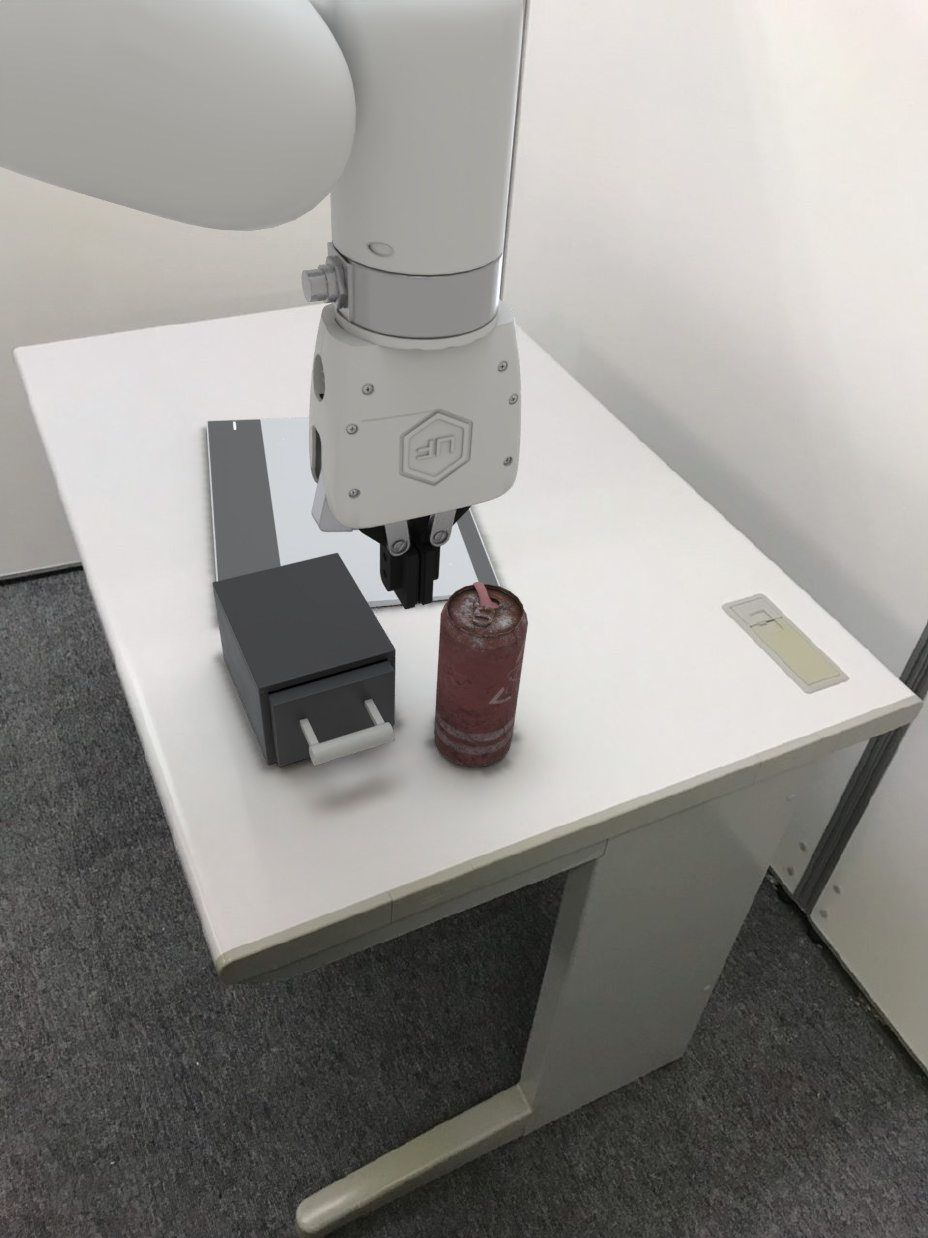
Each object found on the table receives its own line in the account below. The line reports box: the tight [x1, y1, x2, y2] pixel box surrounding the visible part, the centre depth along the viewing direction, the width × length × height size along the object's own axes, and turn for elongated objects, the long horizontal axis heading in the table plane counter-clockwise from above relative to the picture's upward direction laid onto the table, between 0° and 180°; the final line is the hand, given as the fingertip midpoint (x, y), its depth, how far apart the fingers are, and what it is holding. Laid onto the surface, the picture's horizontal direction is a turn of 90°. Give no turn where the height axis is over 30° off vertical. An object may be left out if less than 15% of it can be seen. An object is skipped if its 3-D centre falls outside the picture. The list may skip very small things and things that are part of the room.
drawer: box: [268, 661, 395, 767], centre depth 74 cm, size 15×9×7 cm, turn 26°
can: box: [433, 582, 529, 768], centre depth 72 cm, size 6×6×14 cm
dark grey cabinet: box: [211, 553, 397, 765], centre depth 76 cm, size 12×10×8 cm
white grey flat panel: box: [205, 416, 501, 608], centre depth 98 cm, size 32×26×1 cm
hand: (408, 591), depth 56 cm, fingers closed
